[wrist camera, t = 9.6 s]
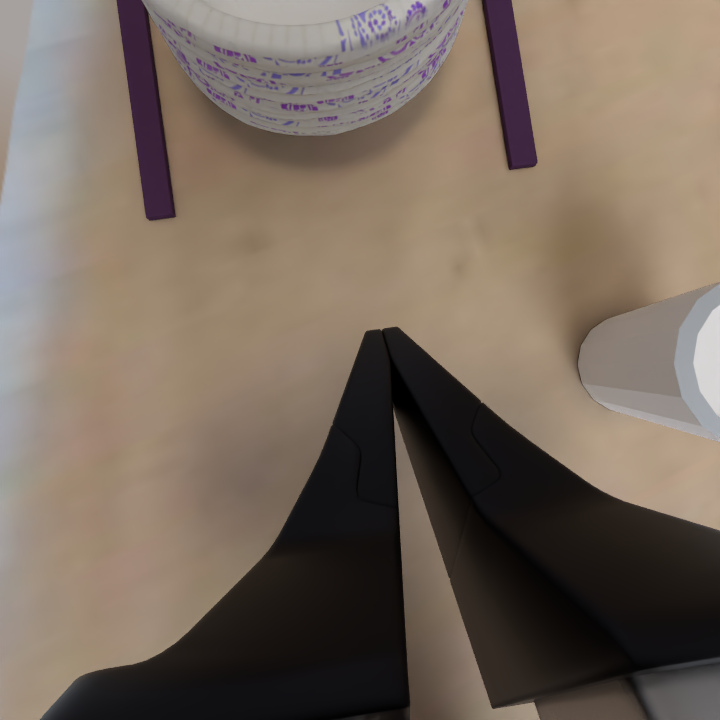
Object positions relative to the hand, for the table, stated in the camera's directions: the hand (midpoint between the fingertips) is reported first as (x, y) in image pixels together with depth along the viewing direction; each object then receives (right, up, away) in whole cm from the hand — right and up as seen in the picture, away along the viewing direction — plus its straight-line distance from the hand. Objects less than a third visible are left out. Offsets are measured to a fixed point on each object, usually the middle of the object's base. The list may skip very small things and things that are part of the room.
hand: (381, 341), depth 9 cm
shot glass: (+15, -1, +11) cm, 19 cm away
